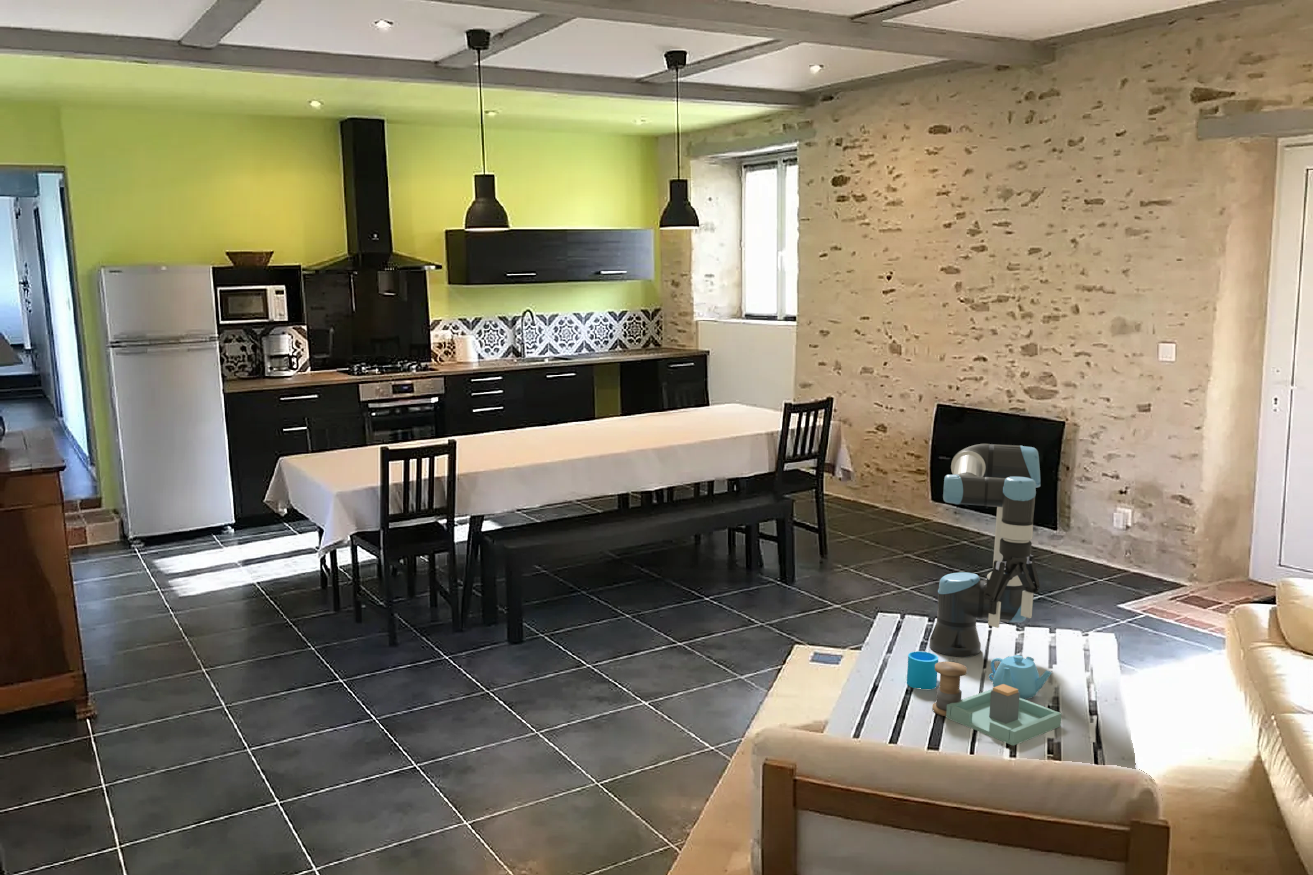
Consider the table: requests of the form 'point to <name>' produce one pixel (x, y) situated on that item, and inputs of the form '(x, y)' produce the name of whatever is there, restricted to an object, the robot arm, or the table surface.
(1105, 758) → the table surface
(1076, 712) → the table surface
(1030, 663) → the teapot
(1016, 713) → the gray and orange block
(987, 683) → the table surface
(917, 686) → the mug
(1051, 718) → the pale green tray
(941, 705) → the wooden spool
